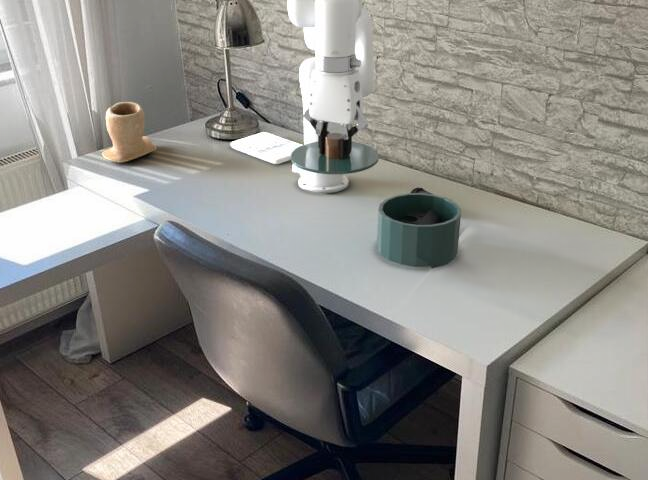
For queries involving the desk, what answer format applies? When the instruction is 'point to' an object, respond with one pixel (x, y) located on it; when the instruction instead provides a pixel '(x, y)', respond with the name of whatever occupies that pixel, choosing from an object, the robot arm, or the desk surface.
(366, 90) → the robot arm
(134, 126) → the stone cup
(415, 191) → the electric trimmer
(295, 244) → the desk surface
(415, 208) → the canister
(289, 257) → the desk surface
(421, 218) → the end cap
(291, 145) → the white flat block
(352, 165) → the lid
